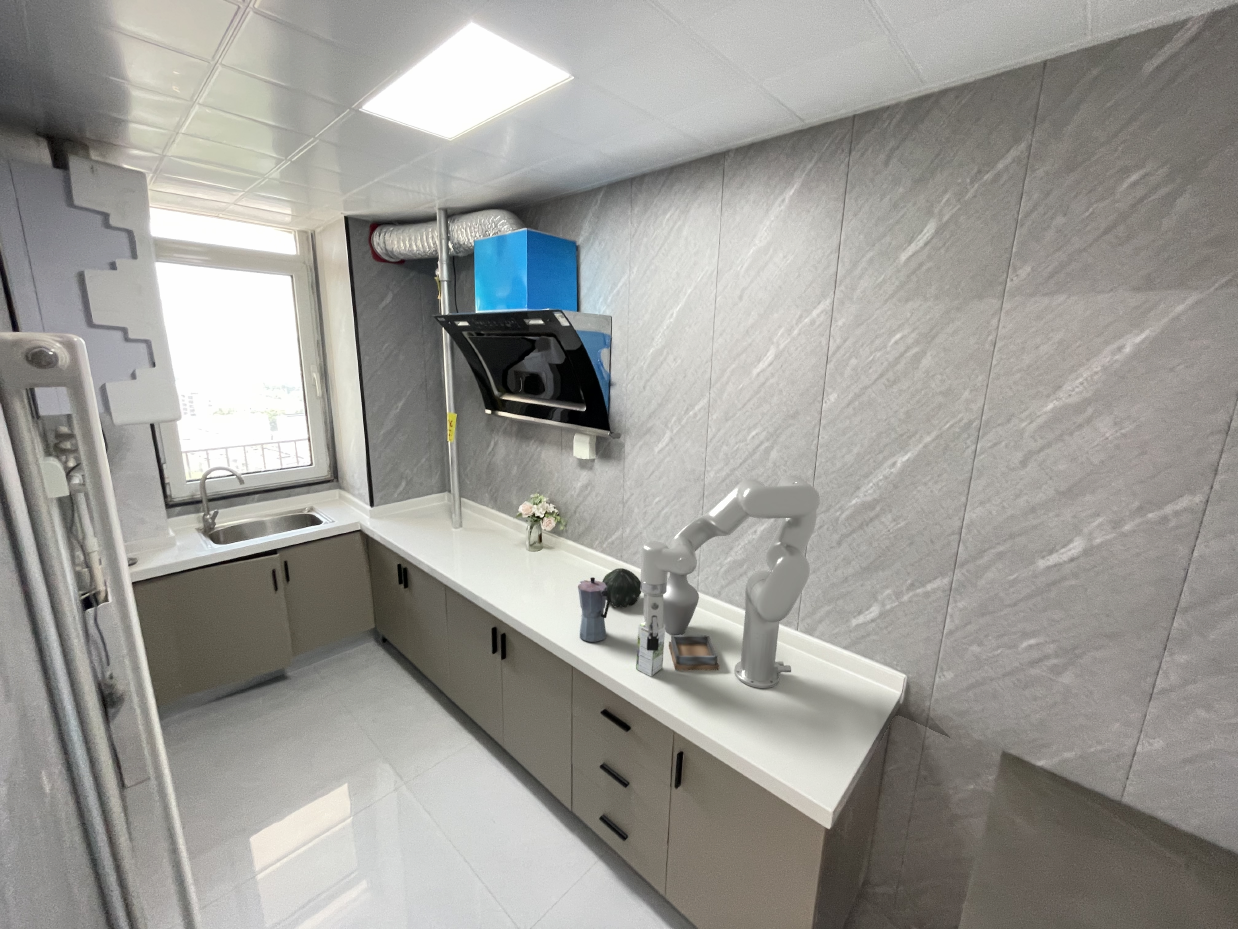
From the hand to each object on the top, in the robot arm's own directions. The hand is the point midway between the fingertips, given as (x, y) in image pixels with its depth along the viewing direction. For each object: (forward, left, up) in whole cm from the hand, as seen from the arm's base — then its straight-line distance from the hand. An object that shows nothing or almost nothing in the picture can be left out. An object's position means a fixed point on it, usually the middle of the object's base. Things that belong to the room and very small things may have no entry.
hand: (650, 641), depth 149 cm
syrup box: (0, 0, -9) cm, 9 cm away
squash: (+6, -42, -9) cm, 43 cm away
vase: (-11, -22, -9) cm, 26 cm away
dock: (-14, -6, -9) cm, 18 cm away
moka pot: (+16, -18, -9) cm, 26 cm away
